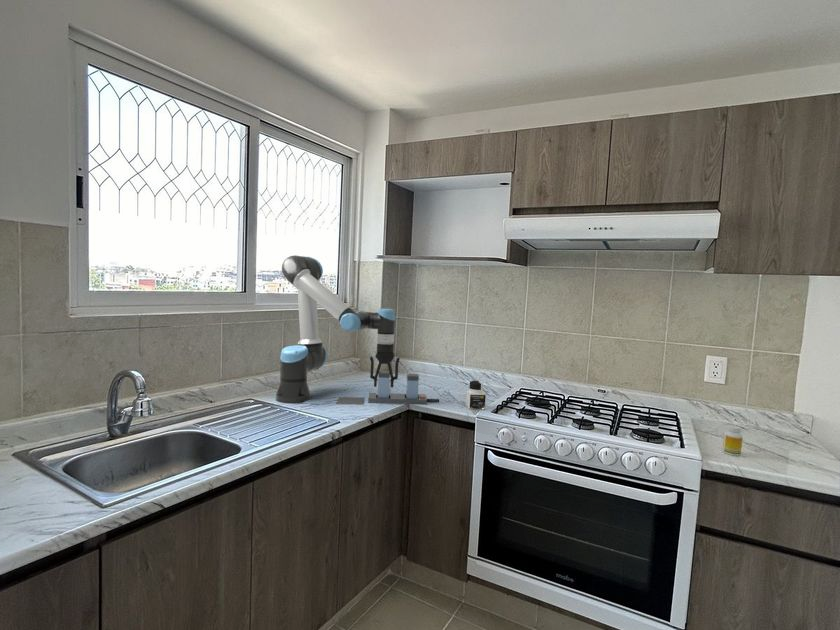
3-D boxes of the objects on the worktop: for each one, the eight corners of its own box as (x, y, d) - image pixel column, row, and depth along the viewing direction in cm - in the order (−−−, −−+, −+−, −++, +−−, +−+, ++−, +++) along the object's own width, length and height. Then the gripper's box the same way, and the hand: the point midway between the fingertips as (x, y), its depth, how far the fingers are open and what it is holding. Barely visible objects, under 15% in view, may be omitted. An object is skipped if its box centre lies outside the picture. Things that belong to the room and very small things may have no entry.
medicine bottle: (469, 409, 198) (470, 383, 197) (465, 405, 205) (466, 379, 204) (485, 409, 199) (486, 383, 198) (480, 405, 206) (481, 379, 205)
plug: (377, 399, 200) (378, 373, 199) (377, 396, 205) (378, 370, 204) (388, 399, 200) (389, 373, 199) (388, 397, 205) (389, 371, 204)
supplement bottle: (719, 449, 161) (721, 423, 160) (735, 451, 160) (738, 425, 159) (727, 455, 156) (729, 428, 155) (744, 457, 155) (746, 429, 154)
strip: (368, 405, 197) (368, 397, 197) (369, 399, 207) (369, 391, 207) (440, 407, 200) (440, 399, 199) (437, 401, 209) (438, 393, 209)
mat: (335, 404, 195) (335, 403, 195) (338, 397, 207) (338, 396, 207) (363, 405, 196) (363, 404, 196) (364, 398, 208) (364, 397, 208)
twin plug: (406, 402, 201) (407, 376, 200) (405, 399, 206) (407, 373, 205) (417, 402, 201) (418, 376, 200) (416, 399, 206) (418, 374, 205)
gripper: (364, 343, 196) (362, 395, 198) (405, 345, 198) (403, 396, 199) (365, 341, 204) (363, 391, 206) (405, 342, 205) (402, 392, 207)
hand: (383, 394), depth 202 cm, fingers closed on plug, 5 cm apart
